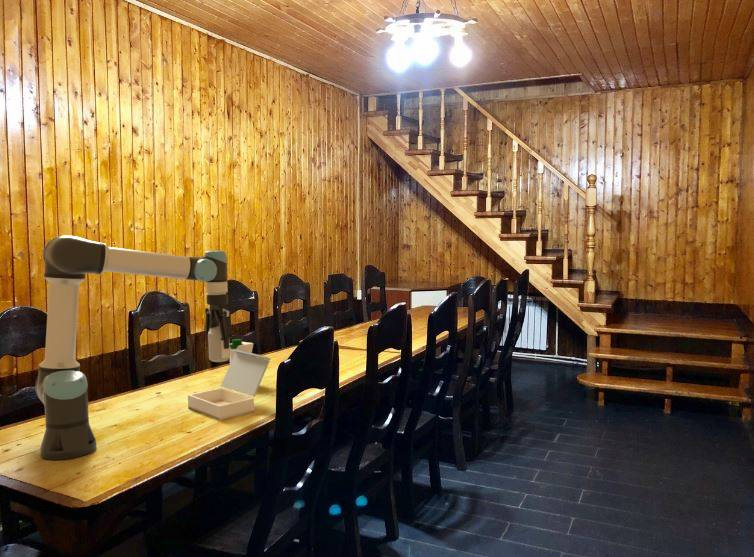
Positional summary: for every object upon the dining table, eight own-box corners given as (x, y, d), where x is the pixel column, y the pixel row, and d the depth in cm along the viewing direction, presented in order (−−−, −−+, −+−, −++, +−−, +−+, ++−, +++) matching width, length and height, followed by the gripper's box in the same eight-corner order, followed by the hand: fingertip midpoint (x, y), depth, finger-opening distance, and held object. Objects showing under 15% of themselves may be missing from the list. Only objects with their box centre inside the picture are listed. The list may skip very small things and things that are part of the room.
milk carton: (226, 386, 266) (225, 339, 264) (241, 382, 273) (240, 336, 271) (241, 389, 261) (240, 341, 259) (257, 384, 268) (255, 338, 267)
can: (224, 362, 226) (223, 329, 225) (205, 362, 227) (204, 329, 226) (233, 358, 233) (232, 326, 232) (214, 357, 234) (213, 325, 233)
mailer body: (220, 420, 219) (219, 406, 218) (188, 408, 234) (187, 394, 234) (254, 411, 229) (253, 398, 228) (221, 400, 244) (221, 387, 244)
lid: (266, 356, 231) (270, 358, 233) (232, 348, 247) (237, 351, 248) (249, 394, 227) (254, 396, 228) (216, 384, 242) (221, 386, 244)
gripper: (241, 294, 223) (243, 358, 225) (211, 290, 238) (213, 350, 240) (223, 296, 218) (225, 361, 220) (193, 292, 232) (195, 353, 234)
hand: (219, 355), depth 230 cm, fingers closed on can, 7 cm apart
